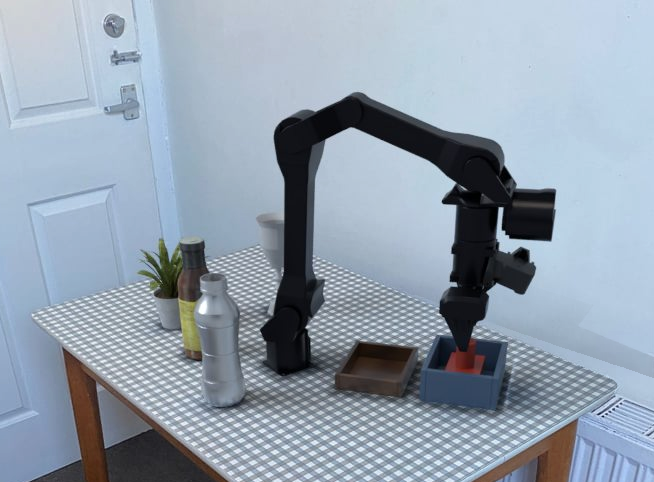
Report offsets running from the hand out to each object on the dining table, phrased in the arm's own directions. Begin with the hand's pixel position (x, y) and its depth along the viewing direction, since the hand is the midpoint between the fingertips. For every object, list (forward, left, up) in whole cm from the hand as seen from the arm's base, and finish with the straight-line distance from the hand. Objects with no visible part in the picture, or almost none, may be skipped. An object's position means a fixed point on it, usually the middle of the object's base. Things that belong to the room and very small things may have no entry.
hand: (467, 338), depth 117 cm
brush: (0, 0, -8) cm, 8 cm away
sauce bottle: (-27, +36, -9) cm, 45 cm away
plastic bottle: (-32, +19, -9) cm, 38 cm away
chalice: (-7, +43, -9) cm, 44 cm away
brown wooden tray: (-8, +11, -8) cm, 16 cm away
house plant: (-26, +49, -9) cm, 56 cm away
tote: (0, 0, -8) cm, 9 cm away
